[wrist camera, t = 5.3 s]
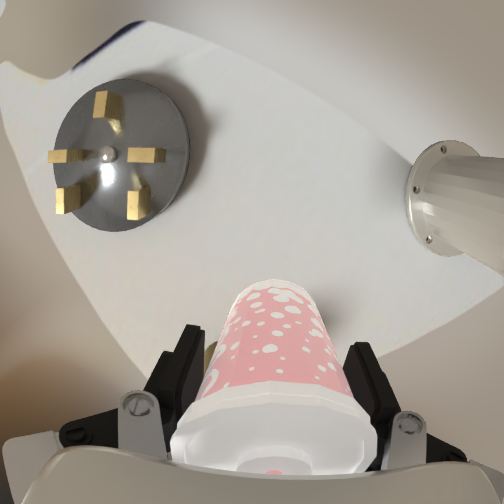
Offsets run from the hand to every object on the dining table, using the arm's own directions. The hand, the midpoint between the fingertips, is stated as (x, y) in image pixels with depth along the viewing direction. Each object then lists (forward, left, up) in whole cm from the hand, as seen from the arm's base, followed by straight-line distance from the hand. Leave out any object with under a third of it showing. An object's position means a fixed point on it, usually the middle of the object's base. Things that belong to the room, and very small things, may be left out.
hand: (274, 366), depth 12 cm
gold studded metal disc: (+16, -8, -18) cm, 25 cm away
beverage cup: (0, 0, -4) cm, 4 cm away
